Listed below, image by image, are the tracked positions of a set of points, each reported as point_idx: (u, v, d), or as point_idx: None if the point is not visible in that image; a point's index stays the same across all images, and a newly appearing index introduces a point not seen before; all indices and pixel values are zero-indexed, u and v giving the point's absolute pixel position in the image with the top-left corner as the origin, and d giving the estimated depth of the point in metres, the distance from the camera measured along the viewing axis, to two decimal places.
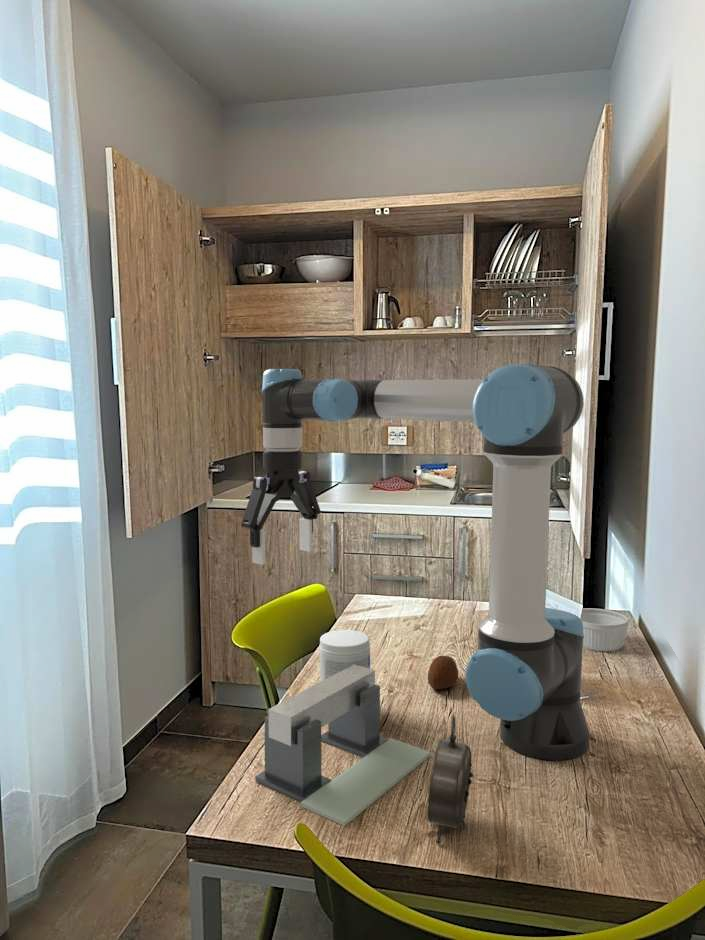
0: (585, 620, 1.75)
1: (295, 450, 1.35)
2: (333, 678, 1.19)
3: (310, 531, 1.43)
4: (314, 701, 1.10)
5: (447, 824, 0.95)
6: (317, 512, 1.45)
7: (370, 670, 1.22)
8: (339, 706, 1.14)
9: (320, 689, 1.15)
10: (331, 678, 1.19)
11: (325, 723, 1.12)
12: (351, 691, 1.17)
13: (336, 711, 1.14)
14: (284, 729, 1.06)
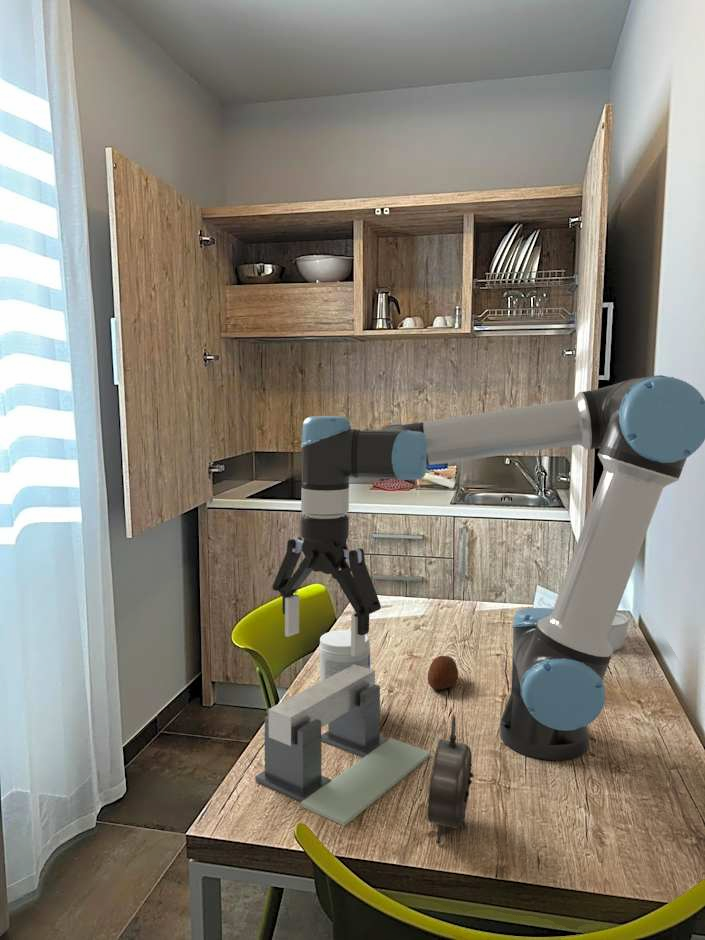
0: None
1: (313, 517, 1.09)
2: (333, 678, 1.19)
3: (352, 630, 1.08)
4: (314, 701, 1.10)
5: (447, 824, 0.95)
6: (366, 610, 1.07)
7: (370, 670, 1.22)
8: (339, 706, 1.14)
9: (320, 689, 1.15)
10: (331, 678, 1.19)
11: (325, 723, 1.12)
12: (351, 691, 1.17)
13: (336, 711, 1.14)
14: (284, 729, 1.06)
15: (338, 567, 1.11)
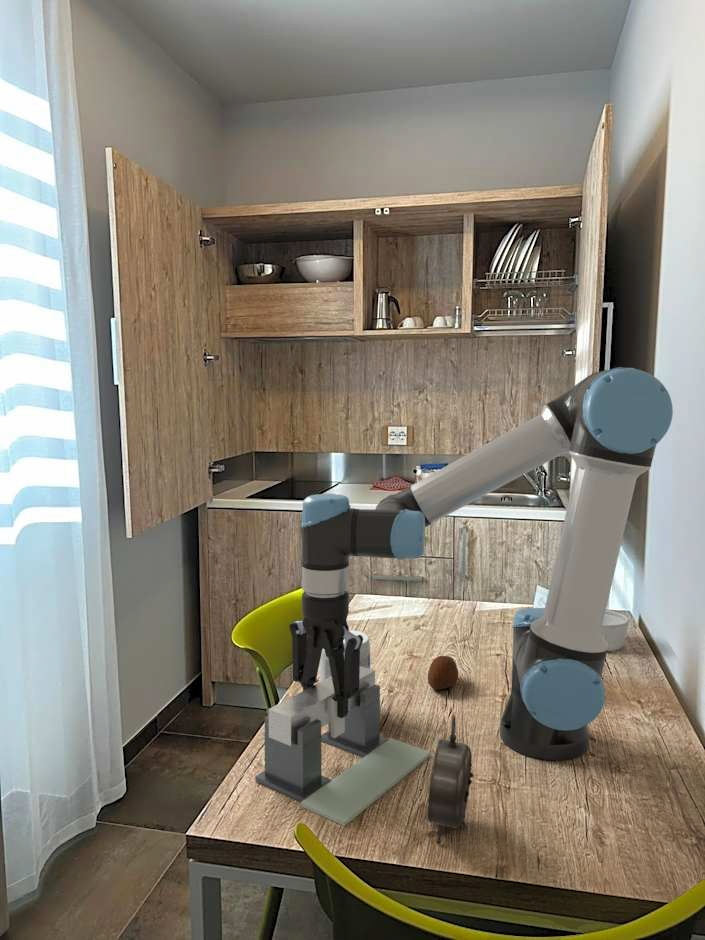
0: None
1: (313, 596, 1.10)
2: None
3: (332, 713, 1.12)
4: (314, 701, 1.10)
5: (447, 824, 0.95)
6: (345, 694, 1.11)
7: (370, 670, 1.22)
8: None
9: (320, 689, 1.15)
10: (331, 678, 1.19)
11: (325, 723, 1.12)
12: None
13: None
14: (284, 729, 1.06)
15: (339, 644, 1.12)
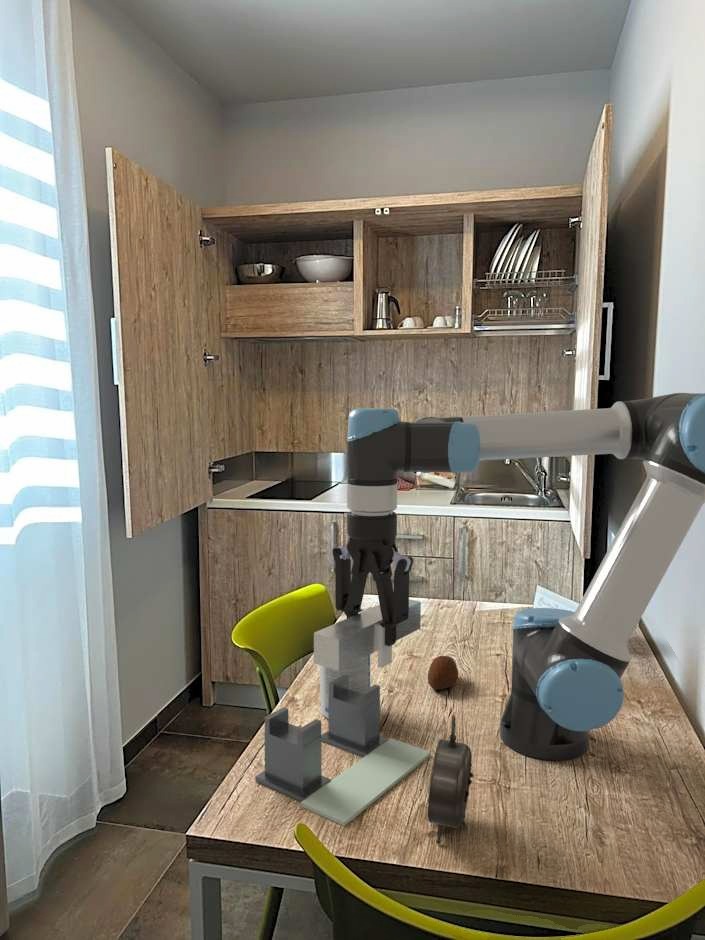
0: None
1: (361, 514, 1.03)
2: (378, 608, 1.12)
3: (379, 640, 1.06)
4: (361, 626, 1.03)
5: (447, 824, 0.95)
6: (394, 619, 1.04)
7: (416, 601, 1.15)
8: None
9: (366, 616, 1.08)
10: (376, 608, 1.12)
11: (372, 651, 1.05)
12: None
13: None
14: (331, 653, 0.99)
15: (386, 567, 1.05)
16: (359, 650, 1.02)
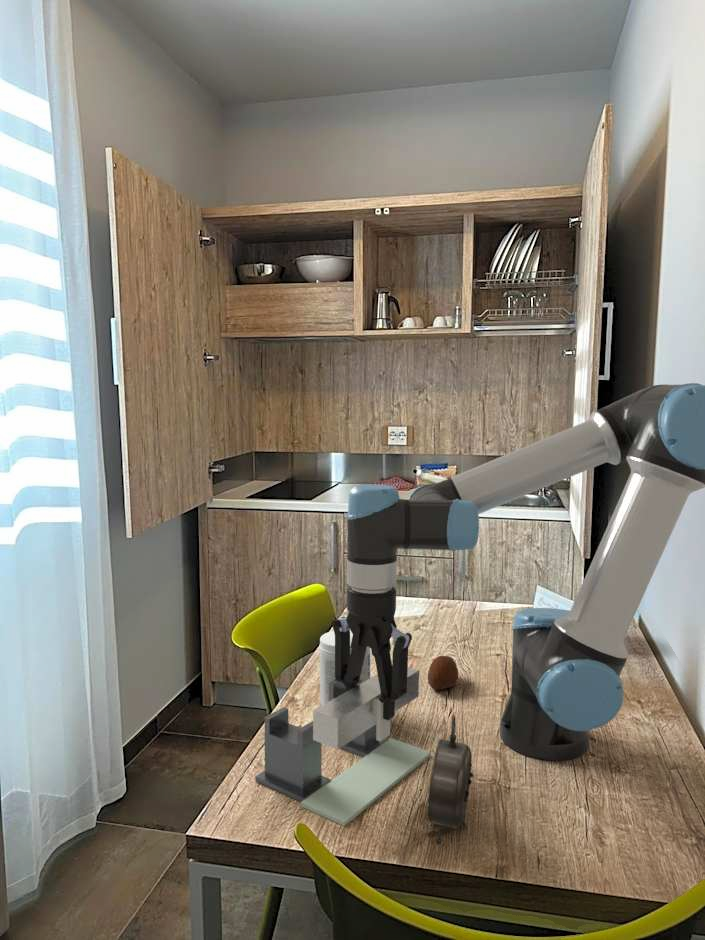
0: None
1: (360, 591, 1.05)
2: (376, 678, 1.13)
3: (378, 714, 1.07)
4: (360, 702, 1.04)
5: (447, 824, 0.95)
6: (392, 695, 1.05)
7: (414, 670, 1.17)
8: None
9: (364, 689, 1.09)
10: (374, 678, 1.13)
11: (371, 725, 1.06)
12: None
13: None
14: (330, 732, 1.00)
15: (385, 642, 1.07)
16: (358, 727, 1.03)
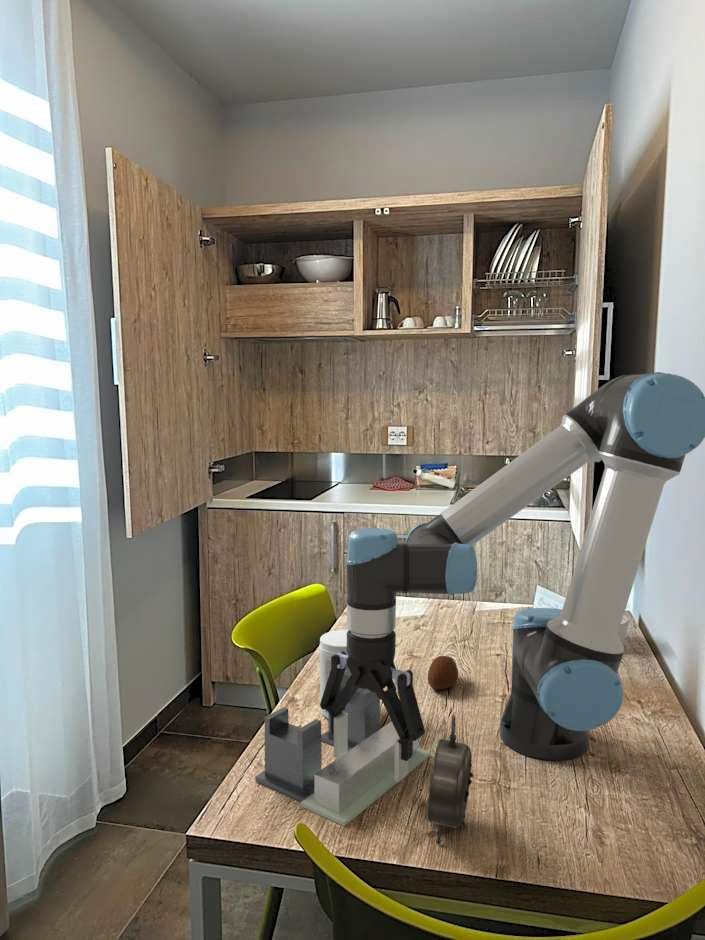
0: None
1: (360, 636, 1.05)
2: (377, 735, 1.14)
3: (396, 755, 1.06)
4: (361, 764, 1.06)
5: (447, 824, 0.95)
6: (410, 736, 1.04)
7: None
8: (385, 767, 1.10)
9: (365, 749, 1.10)
10: (375, 735, 1.14)
11: (371, 786, 1.07)
12: None
13: (382, 773, 1.09)
14: (332, 797, 1.01)
15: (385, 685, 1.07)
16: (358, 789, 1.04)
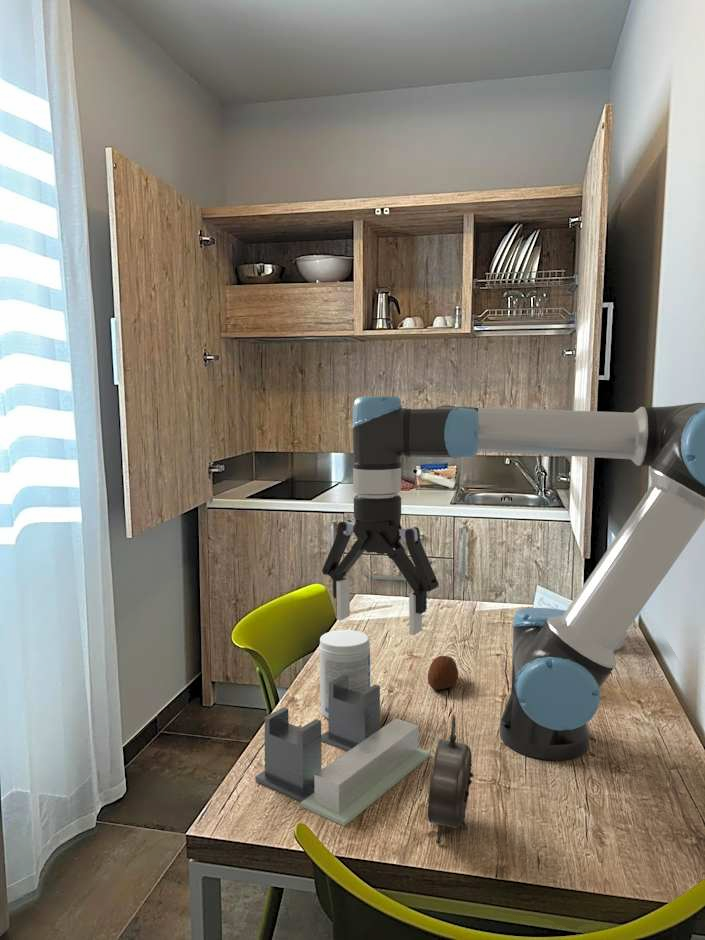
0: None
1: (368, 497, 1.08)
2: (377, 735, 1.14)
3: (411, 608, 1.08)
4: (361, 764, 1.06)
5: (447, 824, 0.95)
6: (425, 588, 1.07)
7: (414, 725, 1.18)
8: (385, 767, 1.10)
9: (365, 749, 1.10)
10: (375, 735, 1.14)
11: (371, 786, 1.07)
12: (396, 750, 1.12)
13: (382, 773, 1.09)
14: (332, 797, 1.01)
15: (392, 547, 1.10)
16: (358, 789, 1.04)
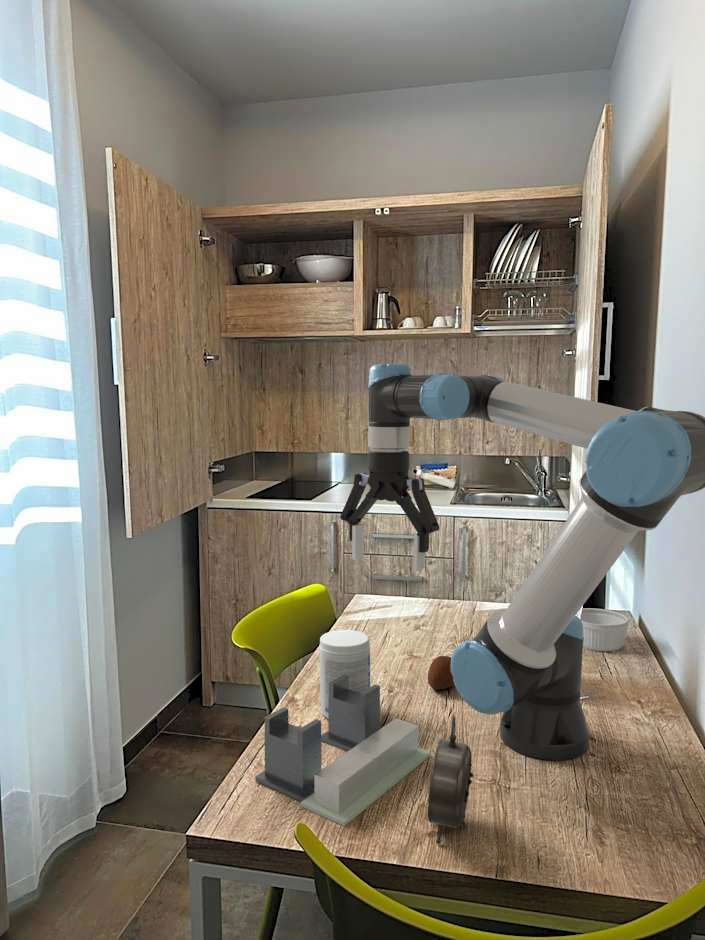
0: (585, 620, 1.75)
1: (380, 451, 1.26)
2: (377, 735, 1.14)
3: (415, 548, 1.25)
4: (361, 764, 1.06)
5: (447, 824, 0.95)
6: (427, 530, 1.24)
7: (414, 725, 1.18)
8: (385, 767, 1.10)
9: (365, 749, 1.10)
10: (375, 735, 1.14)
11: (371, 786, 1.07)
12: (396, 750, 1.12)
13: (382, 773, 1.09)
14: (332, 797, 1.01)
15: (401, 495, 1.28)
16: (358, 789, 1.04)
